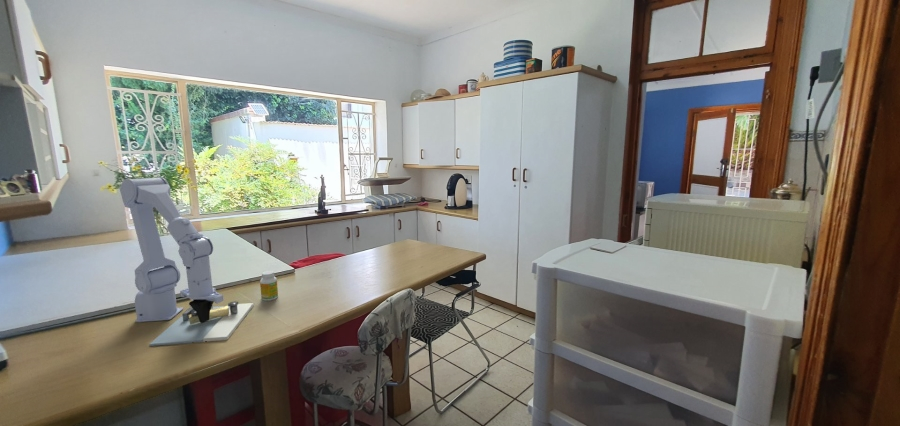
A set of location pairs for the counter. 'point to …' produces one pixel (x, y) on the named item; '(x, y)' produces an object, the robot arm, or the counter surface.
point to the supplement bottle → (268, 286)
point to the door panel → (203, 328)
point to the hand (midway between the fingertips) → (204, 321)
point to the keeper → (189, 313)
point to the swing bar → (213, 314)
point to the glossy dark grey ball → (233, 307)
